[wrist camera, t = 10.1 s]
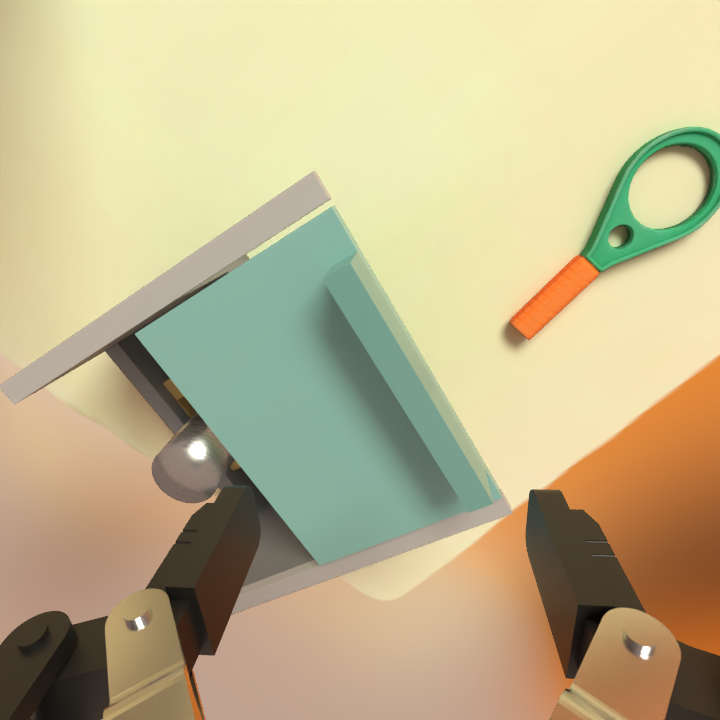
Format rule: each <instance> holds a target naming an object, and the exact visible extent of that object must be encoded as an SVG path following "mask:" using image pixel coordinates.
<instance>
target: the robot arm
mask: <svg viewBox="0 0 720 720" xmlns="http://www.w3.org/2000/svg"><path fill="white" fill-rule="evenodd" d="M260 534H261V528H260V522H259V517H258V512H257V507H256V502H255V497H254V492H253V489H252V487H251V486H225V487H224V488H223V489H222V490H221V492H220V494H219V495H218V497H217V499H216V501H215V502H214V503H206V504H205V505H204V506H203V507H201V508H200V509H199V510H198V511H197V512H196V513H194V514H193V515H192V517H191V518H190V520H189V521H188V523H187V524H186V526H185V527H184V529H183V533H181V534H180V535H179V537H178V539H177V540H176V544H174V545H173V547H172V548H171V549H170V551H169V553H168V554H167V556H166V557H165V559H164V561H163V562H162V564H161V565H160V567H159V568H158V570H157V572H156V573H155V575H154V576H153V578H152V579H151V581H150V583H149V584H148V586H147V587H146V589H144V590H141V591H138V592H135V593H133V594H131V595H129V596H128V597H126V598H125V599H124V600H122V601H121V602H120V603H119V604H118V605H117V606H116V607H115V608H114V609H113V610H112V611H111V613H110V615H109V616H105V617H102V618H98V619H94V620H90V621H86V622H82V623H78V624H74V625H72V624H71V621H70V619H69V617H68V616H67V615H66V614H65V613H63V612H60V611H50V612H45V613H42V614H39V615H37V616H35V617H32V618H31V619H29V620H27V621H25V622H24V623H23V624H21V625H20V626H18V627H17V628H16V629H15V630H14V631H12V632H11V634H9V636H8V637H7V638H6V639H5V640H4V641H3V642H2V644H1V645H0V720H101V719H103V720H205V715H204V711H203V708H202V703H201V699H200V695H199V692H198V687H197V683H196V679H195V675H194V672H193V666H194V664H195V662H196V660H197V657H198V655H215V653H216V650H217V648H218V645H219V643H220V640H221V638H222V635H223V633H224V631H225V628H226V625H227V623H228V621H229V618H230V616H231V613H232V611H233V608H234V606H235V603H236V601H237V598H238V596H239V593H240V591H241V588H242V586H243V584H244V581H245V579H246V576H247V574H248V571H249V569H250V566H251V564H252V561H253V559H254V556H255V554H256V551H257V549H258V546H259V542H260ZM526 546H527V552H528V556H529V559H530V563H531V566H532V569H533V573H534V576H535V579H536V582H537V586H538V589H539V592H540V595H541V599H542V602H543V605H544V608H545V611H546V615H547V618H548V622H549V625H550V628H551V631H552V635H553V638H554V641H555V644H556V647H557V651H558V654H559V657H560V660H561V664H562V667H563V670H564V674H565V677H566V678H571V679H574V681H573V683H572V685H571V687H570V689H569V690H568V689H565V690H564V691H563V693H562V695H561V697H560V698H559V700H558V702H557V705H556V707H555V709H554V711H553V713H552V715H551V718H550V720H720V656H718V655H715V654H711V653H709V652H706V651H702V650H699V649H696V648H693V647H691V646H688V645H686V644H683V643H681V642H679V641H678V640H676V639H675V637H674V636H673V634H672V633H671V632H670V631H669V630H668V629H667V628H666V627H665V626H664V625H663V624H662V623H661V622H659V621H658V620H657V619H655V618H654V617H652V616H650V615H648V614H647V613H646V612H645V610H644V608H643V606H642V605H641V603H640V601H639V599H638V597H637V595H636V593H635V591H634V589H633V588H632V586H631V584H630V582H629V580H628V578H627V576H626V575H625V573H624V571H623V569H622V567H621V565H620V563H619V561H618V560H617V558H615V554H614V552H613V550H612V548H611V546H610V545H609V544H608V543H607V539H606V537H605V536H604V533H603V532H602V530H601V528H600V526H599V524H598V523H597V522H596V521H595V520H594V519H592V518H591V517H590V516H589V515H588V514H587V513H586V512H585V511H584V510H570V509H569V507H568V504H567V502H566V500H565V498H564V496H563V494H562V492H561V491H560V490H531V491H530V494H529V502H528V513H527V524H526Z"/></svg>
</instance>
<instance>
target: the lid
mask: <svg viewBox="0 0 720 720" xmlns="http://www.w3.org/2000/svg"><path fill="white" fill-rule="evenodd" d="M135 335H136V337H137V338H138V339H139V340H140V342H141V343H142V344H143V345H144V347H145V348H146V349H147V350H148V352H149V353H150V354H151V355H152V357H153V358H154V359H155V360H156V362H157V363H158V364H159V365H160V367H161V368H162V369H163V370H164V372H165V373H166V374H167V375H168V377H169V378H170V379H171V380H172V382H173V383H174V384H175V385H176V387H177V388H178V389H179V390H180V392H181V393H182V394H183V395H184V397H185V398H186V399H187V400H188V402H189V403H190V404H191V405H192V407H193V408H194V409H195V410H196V412H197V413H198V414H199V415H200V417H201V418H202V419H203V420H204V422H205V423H206V424H207V425H208V427H209V428H210V429H211V430H212V432H213V433H214V434H215V435H216V437H217V438H218V439H219V440H220V442H221V443H222V444H223V445H224V447H225V448H226V449H227V450H228V452H229V453H230V454H231V455H232V457H233V458H234V459H235V460H236V462H237V463H238V464H239V465H240V467H241V468H242V469H243V470H244V472H245V473H246V474H247V475H248V477H249V478H250V479H251V480H252V482H253V483H254V484H255V485H256V487H257V488H258V489H259V490H260V492H261V493H262V494H263V495H264V497H265V498H266V499H267V500H268V502H269V503H270V504H271V505H272V507H273V508H274V509H275V510H276V512H277V513H278V514H279V515H280V517H281V518H282V519H283V520H284V522H285V523H286V524H287V525H288V527H289V528H290V529H291V530H292V532H293V533H294V534H295V535H296V537H297V538H298V539H299V540H300V542H301V543H302V544H303V545H304V547H305V548H306V549H307V550H308V552H309V553H310V554H311V555H312V557H313V558H314V559H315V560H316V562H317V563H318V564H319V565H320V566H321V565H324V564H326V563H329V562H332V561H334V560H337V559H340V558H342V557H345V556H348V555H350V554H353V553H356V552H358V551H361V550H364V549H366V548H369V547H372V546H374V545H377V544H380V543H382V542H385V541H388V540H391V539H393V538H396V537H399V536H401V535H404V534H407V533H409V532H412V531H415V530H417V529H420V528H423V527H425V526H428V525H431V524H433V523H436V522H439V521H441V520H444V519H447V518H449V517H452V516H455V515H457V514H460V513H463V512H465V511H467V512H468V513H470V512H472V511H475V510H478V509H481V508H483V507H486V506H489V505H491V504H494V503H493V501H495V500H498V499H500V498H502V496H501V493H500V489H499V487H498V485H497V483H496V481H495V480H494V478H493V476H492V475H491V473H490V471H489V469H488V468H487V466H486V464H485V463H484V461H483V459H482V457H481V456H480V454H479V452H478V451H477V449H476V447H475V445H474V444H473V442H472V440H471V439H470V437H469V435H468V433H467V432H466V430H465V428H464V427H463V425H462V423H461V421H460V420H459V418H458V416H457V415H456V413H455V411H454V409H453V408H452V406H451V404H450V402H449V401H448V399H447V397H446V396H445V394H444V392H443V390H442V389H441V387H440V385H439V384H438V382H437V380H436V378H435V377H434V375H433V373H432V372H431V370H430V368H429V366H428V365H427V363H426V361H425V360H424V358H423V356H422V354H421V353H420V351H419V349H418V348H417V346H416V344H415V342H414V341H413V339H412V337H411V336H410V334H409V332H408V330H407V329H406V327H405V325H404V324H403V322H402V320H401V318H400V317H399V315H398V313H397V312H396V310H395V308H394V306H393V305H392V303H391V301H390V300H389V298H388V296H387V294H386V293H385V291H384V289H383V288H382V286H381V284H380V282H379V281H378V279H377V277H376V276H375V274H374V272H373V270H372V269H371V267H370V265H369V264H368V262H367V260H366V258H365V257H364V255H363V253H362V252H361V250H360V248H359V246H358V245H357V243H356V241H355V239H354V238H353V236H352V234H351V233H350V231H349V229H348V227H347V226H346V224H345V222H344V221H343V219H342V217H341V215H340V214H339V212H338V210H337V209H336V207H335V205H334V206H332V207H330V208H329V209H327V210H326V211H324V212H323V213H321V214H320V215H318V216H316V217H315V218H313V219H312V220H310V221H309V222H307V223H306V224H304V225H303V226H301V227H299V228H298V229H296V230H295V231H293V232H292V233H290V234H289V235H287V236H285V237H284V238H282V239H281V240H279V241H278V242H276V243H275V244H273V245H272V246H270V247H268V248H267V249H265V250H264V251H262V252H261V253H259V254H258V255H256V256H255V257H253V258H251V259H250V260H248V261H247V262H245V263H244V264H242V265H241V266H239V267H237V268H236V269H234V270H233V271H231V272H230V273H228V274H227V275H225V276H224V277H222V278H220V279H219V280H217V281H216V282H214V283H213V284H211V285H210V286H208V287H206V288H205V289H203V290H202V291H200V292H199V293H197V294H196V295H194V296H193V297H191V298H189V299H188V300H186V301H185V302H183V303H182V304H180V305H179V306H177V307H176V308H174V309H172V310H171V311H169V312H168V313H166V314H165V315H163V316H162V317H160V318H158V319H157V320H155V321H154V322H152V323H151V324H149V325H148V326H146V327H145V328H143V329H141V330H140V331H138V332H137V333H135Z"/></svg>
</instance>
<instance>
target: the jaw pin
mask: <svg viewBox="0 0 720 720" xmlns="http://www.w3.org/2000/svg"><path fill="white" fill-rule="evenodd" d="M234 460H235V459H234V458H233V457H232V455H231V454H230V453H229V452H228V450H227V449H226V448H225V447H224V445H223V444H222V443H221V442H220V440H219V439H218V438H217V437H216V435H215V434H214V433H213V432H212V430H211V429H210V428H209V427H208V425H207V424H206V423H205V422H204V420H203V419H202V418H201V417H200V415H199V414H198V413H197V412H195V413H194V415H193V416H192V417H191V418H190V419H189V420H188V421H187V422H186V423H185V425H184V426H183V427H182V428H181V429H180V430H179V431H178V432H177V434H176V435H175V436H174V437H173V438H172V439H171V440H170V441H169V442H168V444H167V445H166V446H165V447H164V448H163V449H162V450H161V451H160V453H159V454H158V455H157V456H156V457H155V459H154V460H153V463H152V474H153V478H154V480H155V482H156V484H157V485H158V486H159V488H160V489H161V490H162V491H163V492H164V493H166V494H167V495H168V496H170V497H172V498H174V499H176V500H179V501H181V502H186V503H199V502H202V501H205V500H207V499H208V498H210V497H211V496H212V495H213V494H214V492H215V490H216V489H217V487H218V486H219V484H220V482H221V481H222V479H223V477H224V476H225V474H226V473H227V471H228V469H229V468H230V466H231V464H232V463H233V461H234Z"/></svg>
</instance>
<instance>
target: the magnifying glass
mask: <svg viewBox="0 0 720 720" xmlns="http://www.w3.org/2000/svg"><path fill="white" fill-rule="evenodd" d="M673 145H679V146H685V147H686V146H688V147H691V148H694V149H695V150H697V151H698V152H700V153H701V154H702V155H703V156H704V158H705V159H706V161H707V163H708V166H709V169H710V185H709V189H708V192H707V195H706V197H705V199H704V201H703V202H702V204H701V205H700V206H699V208H698V209H697V210H696V211H695V212H694V213H693V214H692V215H691V216H690V217H689V218H687V219H686V220H684V221H682V222H681V223H679V224H677V225H674V226H672V227H668V228H664V229H651V228H648V227H645V226H644V225H642V224H640V223H639V222H638V221H637V220H636V219H635V218H634V216H633V214H632V212H631V210H630V207H629V202H628V194H629V187H630V184H631V181H632V178H633V176H634V174H635V173H636V171H637V169H638V168H639V167H640V165H641V164H642V163H643V162H644V161H645V160H646V159H647V158H648V157H649V156H650V155H652V154H653V153H655V152H656V151H658V150H660V149H662V148H665V147H666V148H667V147H668V146H673ZM719 207H720V134H718V133H717V132H715V131H713V130H711V129H707V128H702V127H686V128H680V129H676V130H672V131H669V132H666V133H664V134H662V135H660V136H658V137H656V138H654V139H652V140H650V141H649V142H647V143H646V144H644V145H643V146H642V147H641V148H639V149H638V150H637V151H636V152H635V153H634V154H633V155H632V156H631V157H630V158H629V159H628V161H627V162H626V163H625V164H624V166H623V167H622V169H621V170H620V172H619V174H618V176H617V178H616V180H615V182H614V184H613V187H612V189H611V191H610V193H609V196H608V198H607V200H606V202H605V205H604V207H603V209H602V211H601V214H600V216H599V218H598V220H597V223H596V225H595V227H594V229H593V232H592V234H591V236H590V238H589V241H588V243H587V245H586V246H585V248H584V249H583V251H582V252H581V253H580V255H578V256H576V257H575V258H574V259H573V260H572V261H571V262H570V263H569V264H567V266H566V267H565V268H563V269H562V270H561V271H560V272H559V273H558V274H557V275H556V276H555V277H554V278H553V279H552V280H551V281H550V282H549V283H548V284H547V285H546V286H545V287H544V288H543V289H542V290H541V291H540V292H539V293H538V294H537V295H536V296H535V297H534V298H533V299H531V300H530V301H529V302H528V304H526V305H525V306H524V307H523V308H522V309H521V310H520V311H519V312H518V313H517V314H516V315H515V316H514V317H513V318H512V319H511V320H510V323H511V325H512V326H513V327H514V328H516V329H517V330H518V331H519V332H520V333H521V334H522V335H523V336H525V337H526V338H527V339H528V340H530V339H531V338H532V337H533V336H534V335H536V334H537V333H538V332H539V331H540V330H541V329H542V328H543V327H544V326H545V325H546V324H547V323H548V322H549V321H550V320H551V319H553V318H554V317H555V316H556V315H557V314H558V313H559V312H560V311H561V310H562V309H563V308H564V307H565V306H566V305H567V304H569V303H570V302H571V301H572V300H573V299H574V298H575V297H576V296H577V295H578V294H579V293H580V292H581V291H582V290H583V289H585V288H586V287H587V286H588V285H589V284H590V283H591V282H592V281H593V280H594V279H595V278H597V276H598V275H599V273H600V272H602V271H604V270H606V269H607V268H609V267H611V266H613V265H615V264H617V263H620V262H623V261H625V260H628V259H630V258H633V257H635V256H638V255H640V254H643V253H645V252H648V251H650V250H653V249H655V248H658V247H661V246H663V245H666V244H668V243H670V242H673V241H676V240H678V239H681V238H683V237H685V236H687V235H689V234H691V233H692V232H694V231H695V230H697V229H699V228H700V227H701V226H702V225H704V224H705V223H706V222H707V221H708V220H709V219H710V218H711V217H712V216H713V215H714V213H715V212H716V211H717V210H718V209H719ZM620 225H623V226H624V227H626V229H627V231H628V236H627V239H626V241H625V242H624V243H623V244H622V245H620V246H618V247H611V246H610V245H609V243H608V236H609V234H610V232H611V231H612V229H614V228H615V227H617V226H620Z"/></svg>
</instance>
